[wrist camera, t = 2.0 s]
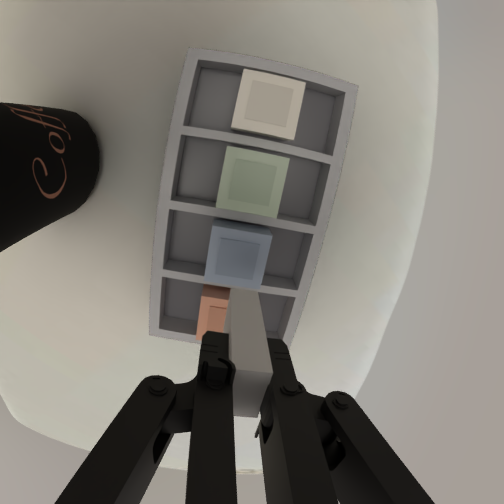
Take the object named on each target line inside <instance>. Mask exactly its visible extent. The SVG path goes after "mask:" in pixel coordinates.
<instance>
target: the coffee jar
mask: <svg viewBox="0 0 504 504" xmlns="http://www.w3.org/2000/svg"><path fill="white" fill-rule="evenodd" d="M98 171H99V149H98V145H97V140H96V136H95V134H94V133H93V131H92V129H91V128H90V126H89V124H88V122H87V121H86V120H84V119H83V118H82V117H81V116H79V115H78V114H77V113H75V112H71V111H67V110H63V109H56V108H49V107H41V106H32V105H23V104H13V103H0V252H2V251H3V250H5V249H6V248H8V247H10V246H11V245H13V244H15V243H17V242H18V241H20V240H22V239H23V238H25V237H27V236H29V235H31V234H32V233H34V232H36V231H38V230H40V229H41V228H43V227H45V226H47V225H49V224H51V223H53V222H55V221H57V220H59V219H61V218H63V217H64V216H66V215H68V214H70V213H73V212H75V211H76V210H77V209H78V208H79V207H80V206H81V205H82V204H83V203H84V202H85V201H86V200H87V198H88V196H89V194H90V193H91V191H92V189H93V188H94V185H95V181H96V178H97V174H98Z"/></svg>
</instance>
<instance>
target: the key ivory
mask: <svg viewBox="0 0 504 504" xmlns="http://www.w3.org/2000/svg"><path fill="white" fill-rule="evenodd" d="M305 85H306V83H305V82H301V81H298V80H294V79H290V78H286V77H282V76H278V75H273V74H269V73H264V72H259V71H254V70H249V69H244V70H243V75H242V79H241V83H240V88H239V92H238V96H237V101H236V106H235V110H234V115H233V119H232V124H231V129H232V130H238V131H243V132H249V133H254V134H259V135H263V136H268V137H273V138H277V139H282V140H286V141H291V140H294V137H295V133H296V128H297V123H298V118H299V114H300V109H301V104H302V99H303V95H304V90H305Z"/></svg>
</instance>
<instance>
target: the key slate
mask: <svg viewBox="0 0 504 504" xmlns="http://www.w3.org/2000/svg"><path fill="white" fill-rule="evenodd" d="M271 240H272V234H271V232H270V230H269V228H267V227H262V226H256V225H251V224H245V223H239V222H234V221H228V220H222V219H216V218H214V221H213V225H212V231H211V237H210V243H209V249H208V256H207V262H206V269H205V275H204V281H208V282H214V283H220V284H227V285H233V286H239V287H246V288H253V289H259V290H260V287H261V283H262V279H263V275H264V270H265V266H266V262H267V258H268V253H269V249H270V245H271Z"/></svg>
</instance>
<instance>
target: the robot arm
mask: <svg viewBox="0 0 504 504" xmlns="http://www.w3.org/2000/svg"><path fill="white" fill-rule="evenodd" d="M259 412H260V414H261V420H260V422H259V425H258V428H257V430H256V433H255V438H257V437H258V434H259V438H260V447H261V456H262V465H263V474H264V483H265V492H266V501H267V504H338V501H339V502H340V504H435V503H434V502H433V501H432V500H431V498H430V497H429V496H428V494H427V493H426V492H425V490H424V489H423V488H422V487H421V485H420V484H419V483H418V481H417V480H416V479H415V478H414V476H413V475H412V474H411V472H410V471H409V470H408V469H407V467H406V466H405V465H404V463H403V462H402V461H401V460H400V458H399V457H398V456H397V454H396V453H395V452H394V451H393V449H392V448H391V447H390V446H389V444H388V443H387V442H386V440H385V439H384V438H383V436H382V435H381V434H380V433H379V431H378V430H377V429H376V427H375V426H374V424H373V423H372V422H371V421H370V419H369V418H368V417H367V415H366V414H365V413H364V411H363V410H362V409H361V408H360V406H359V405H358V404H357V402H356V401H355V400H354V399H353V398H352V397H351V396H350V395H349V394H347V393H345V392H341V391H333V392H330V393H328V395H327V396H326V397H321V396H317V395H313V394H310V393H308V392H307V391H306V389H305V387H304V386H303V385H302V384H301V383H300V382H298V381H297V379H296V375H295V371H294V368H293V364H292V361H291V357H290V355H289V350H288V346H287V345H286V344H285V343H284V341H283V340H282V339H275V338H266V332H265V327H264V321H263V316H262V311H261V305H260V300H259V295H258V292H257V291H251V290H244V289H237V288H231V290H230V295H229V301H228V306H227V311H226V317H225V322H224V327H223V333H221V332H214V331H207V332H206V333H205V334H204V335H203V336H202V342H201V349H200V356H199V364H198V372H197V375H196V377H195V378H194V379H193V380H191V381H189V382H187V383H181V384H174V383H173V382H172V380H170V379H168V378H166V377H164V376H159V375H154V376H149V377H146V378H145V379H143V380H142V381H141V382H140V384H139V385H138V387H137V388H136V389H135V391H134V392H133V393H132V395H131V396H130V398H129V399H128V400H127V402H126V403H125V405H124V406H123V407H122V409H121V410H120V411H119V413H118V414H117V416H116V417H115V418H114V420H113V421H112V423H111V424H110V425H109V427H108V428H107V430H106V431H105V432H104V434H103V435H102V437H101V438H100V439H99V441H98V442H97V444H96V445H95V446H94V448H93V449H92V451H91V452H90V453H89V455H88V456H87V458H86V459H85V461H84V462H83V463H82V465H81V466H80V468H79V469H78V471H77V472H76V473H75V475H74V477H73V478H72V479H71V480H70V482H69V483H68V485H67V486H66V488H65V489H64V491H63V492H62V493H61V495H60V496H59V498H58V499H57V501H56V502H55V504H139V503H140V501H141V499H142V497H143V496H144V494H145V492H146V490H147V488H148V486H149V484H150V482H151V479H152V478H153V476H154V474H155V471H156V470H157V468H158V466H159V464H160V462H161V460H162V458H163V456H164V454H165V452H166V450H167V448H168V446H169V444H170V442H171V440H172V438H173V436H174V433H183V432H191V436H190V447H189V459H188V472H187V485H186V500H185V504H237V486H236V466H235V442H234V416H241V417H255V418H257V417H258V414H259ZM337 499H338V500H337Z"/></svg>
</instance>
